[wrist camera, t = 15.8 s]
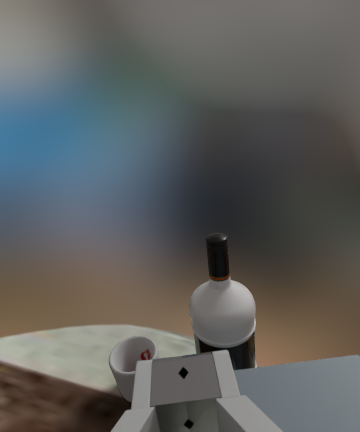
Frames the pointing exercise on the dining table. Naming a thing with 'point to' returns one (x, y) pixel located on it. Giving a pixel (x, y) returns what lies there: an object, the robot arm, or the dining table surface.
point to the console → (307, 394)
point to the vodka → (223, 310)
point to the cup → (130, 361)
